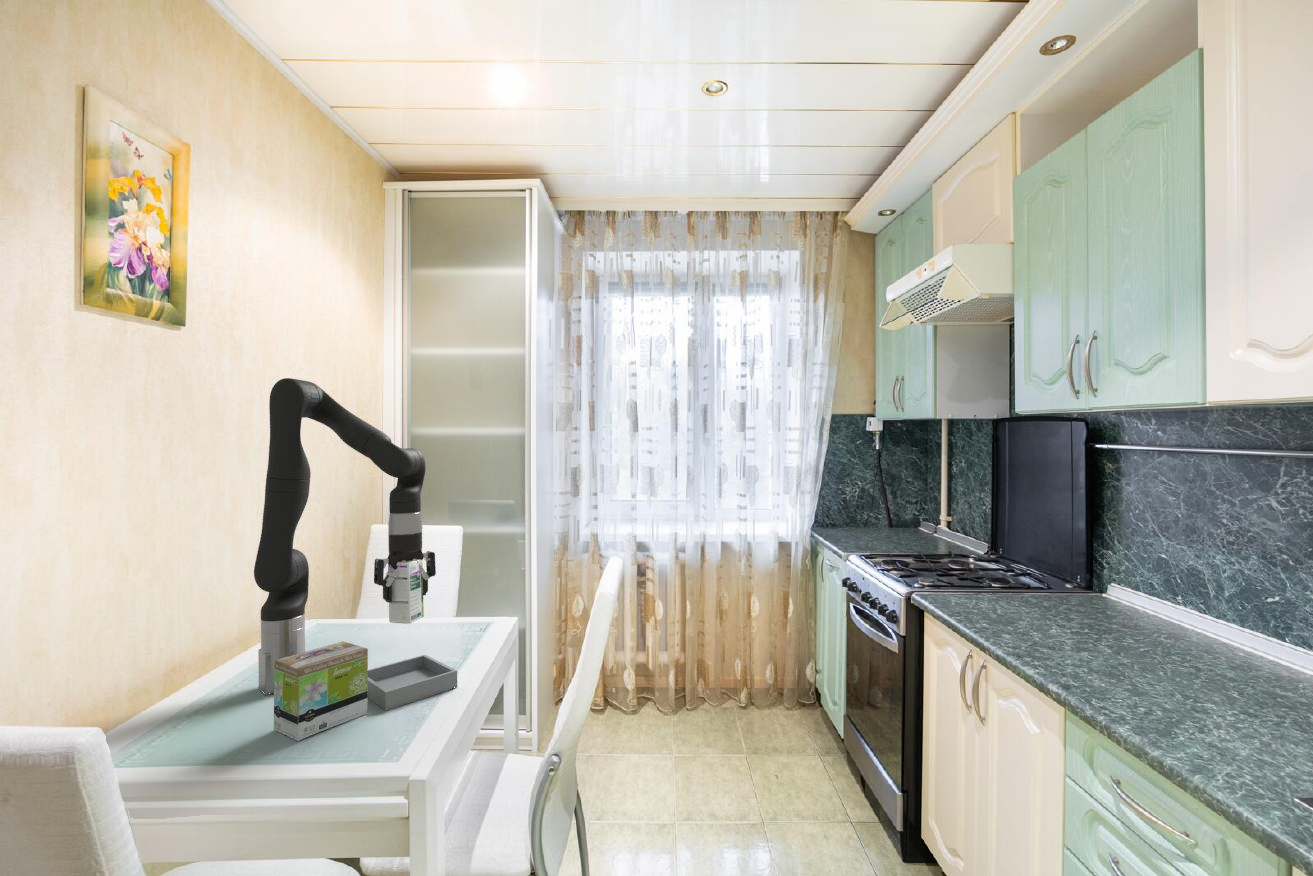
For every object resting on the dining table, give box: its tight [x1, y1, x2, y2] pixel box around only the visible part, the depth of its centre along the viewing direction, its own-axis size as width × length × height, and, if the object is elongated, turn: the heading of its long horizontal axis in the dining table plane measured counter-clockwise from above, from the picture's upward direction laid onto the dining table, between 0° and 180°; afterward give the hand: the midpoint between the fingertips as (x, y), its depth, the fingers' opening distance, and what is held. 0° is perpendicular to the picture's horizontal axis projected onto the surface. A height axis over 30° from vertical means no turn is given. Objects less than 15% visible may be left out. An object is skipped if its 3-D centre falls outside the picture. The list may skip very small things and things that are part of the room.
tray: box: [367, 654, 458, 711], centre depth 146 cm, size 17×17×4 cm
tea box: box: [273, 640, 369, 742], centre depth 129 cm, size 15×10×15 cm, turn 148°
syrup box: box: [387, 559, 425, 625], centre depth 147 cm, size 6×6×14 cm
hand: (405, 598), depth 147 cm, fingers closed on syrup box, 8 cm apart
